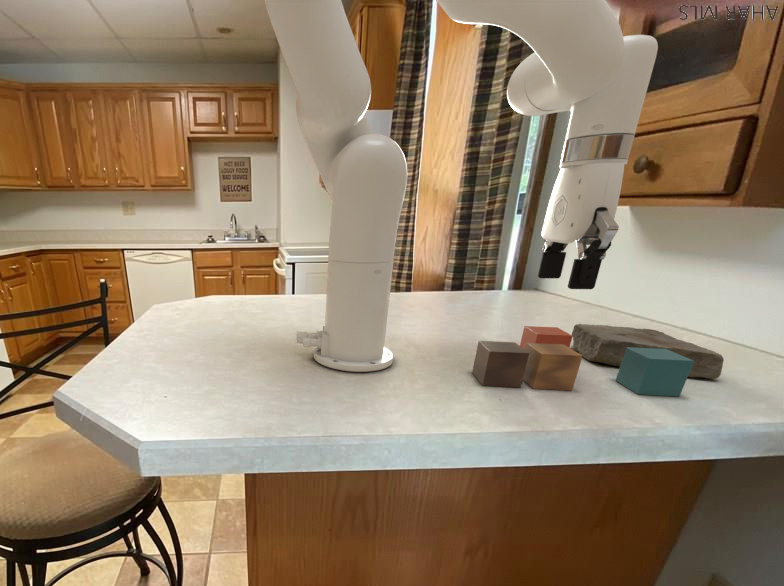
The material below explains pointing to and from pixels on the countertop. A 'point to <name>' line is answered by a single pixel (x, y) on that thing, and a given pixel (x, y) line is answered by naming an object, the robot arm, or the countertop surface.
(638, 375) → the teal block
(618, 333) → the grey stone slab
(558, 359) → the oak block
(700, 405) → the countertop surface
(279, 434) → the countertop surface
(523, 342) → the terracotta block
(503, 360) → the walnut block
